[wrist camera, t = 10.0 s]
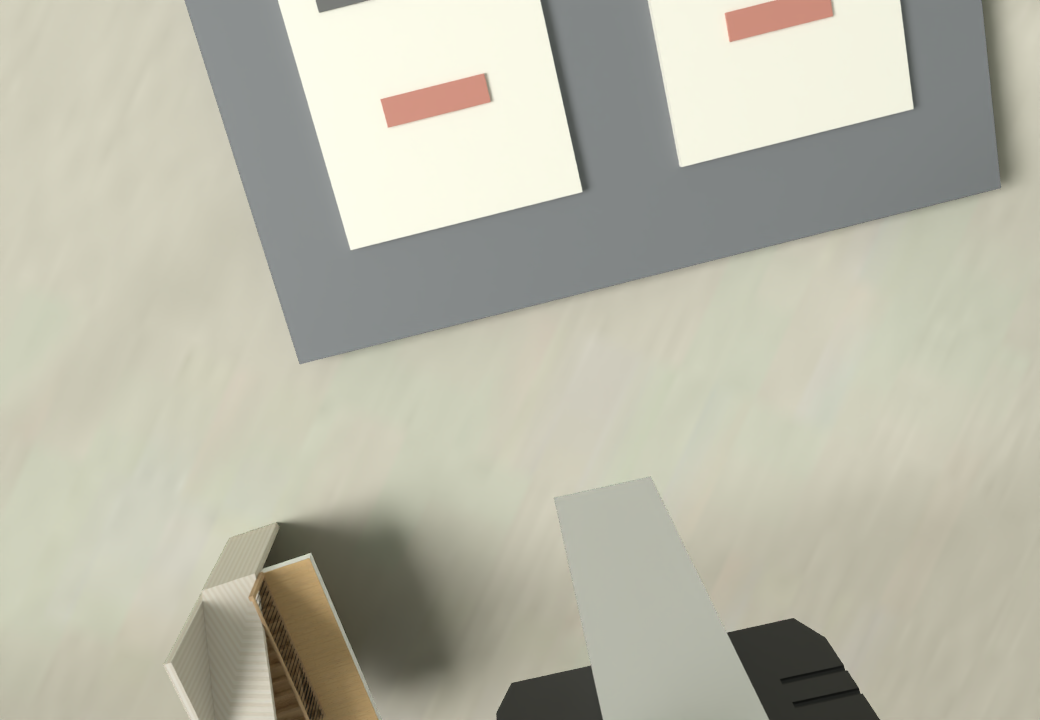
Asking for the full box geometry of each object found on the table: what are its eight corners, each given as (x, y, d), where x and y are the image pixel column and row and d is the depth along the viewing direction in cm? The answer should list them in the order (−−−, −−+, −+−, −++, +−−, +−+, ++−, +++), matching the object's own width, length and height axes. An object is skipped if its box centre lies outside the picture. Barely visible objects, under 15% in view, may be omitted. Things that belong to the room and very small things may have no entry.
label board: (304, 355, 30) (297, 368, 29) (129, -200, 26) (112, -217, 24) (983, 185, 30) (1008, 189, 29) (920, -398, 26) (946, -426, 24)
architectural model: (323, 502, 32) (284, 616, 25) (394, 673, 34) (378, 828, 26) (226, 534, 32) (159, 657, 25) (302, 703, 34) (261, 865, 27)
